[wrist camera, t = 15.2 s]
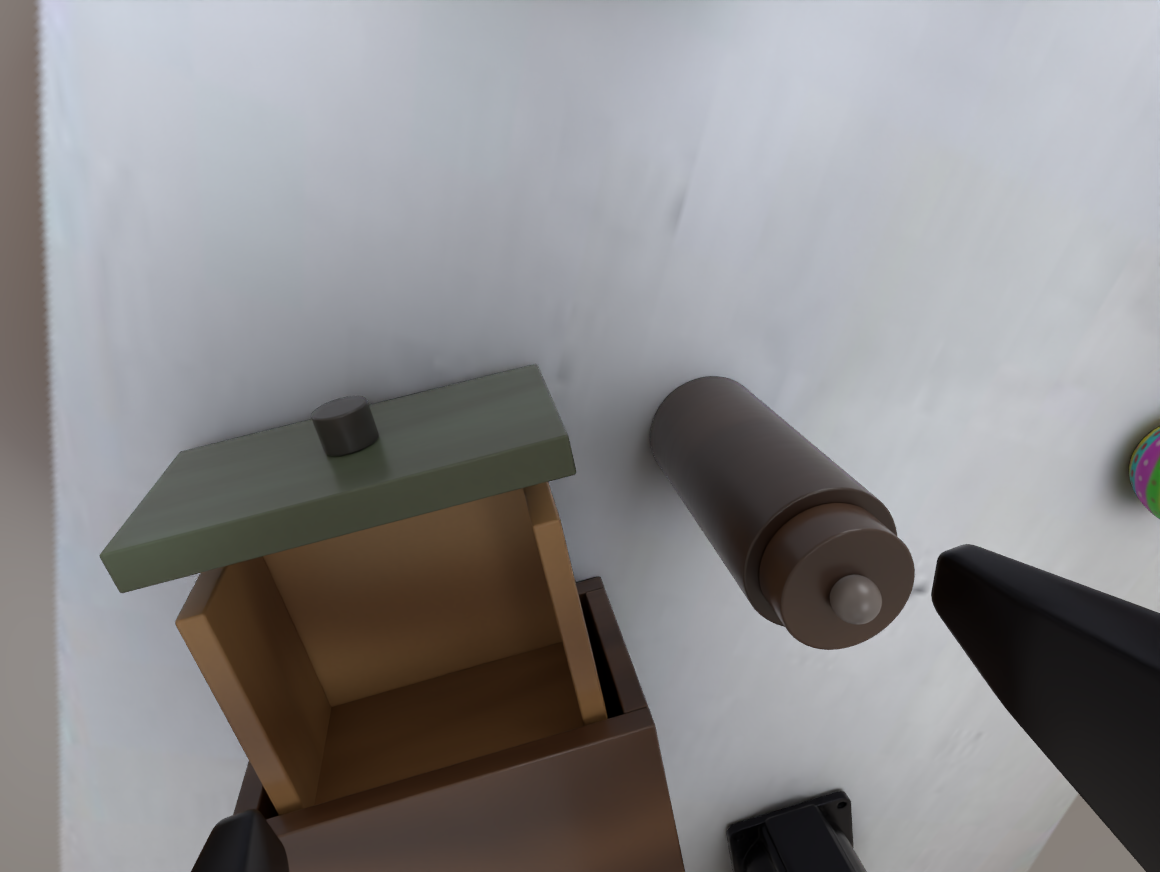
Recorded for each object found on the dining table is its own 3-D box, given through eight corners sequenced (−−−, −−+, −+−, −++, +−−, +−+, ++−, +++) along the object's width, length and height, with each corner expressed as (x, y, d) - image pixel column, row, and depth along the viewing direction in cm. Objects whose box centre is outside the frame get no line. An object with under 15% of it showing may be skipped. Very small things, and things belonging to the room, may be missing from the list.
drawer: (163, 417, 23) (74, 514, 17) (529, 329, 24) (558, 392, 18) (303, 711, 28) (270, 859, 23) (598, 628, 29) (638, 749, 24)
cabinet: (275, 665, 28) (220, 854, 21) (600, 575, 29) (655, 724, 22) (375, 872, 34) (359, 1080, 26) (647, 789, 35) (704, 966, 27)
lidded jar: (746, 485, 29) (920, 685, 19) (640, 480, 28) (763, 689, 18) (771, 380, 27) (978, 536, 17) (660, 371, 26) (808, 530, 16)
